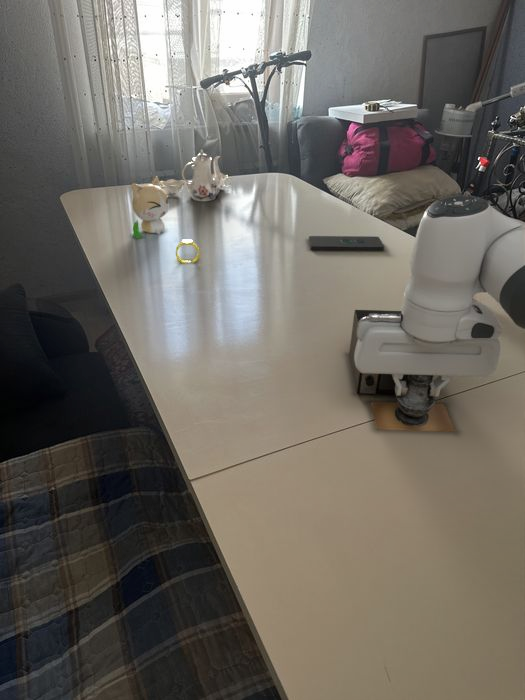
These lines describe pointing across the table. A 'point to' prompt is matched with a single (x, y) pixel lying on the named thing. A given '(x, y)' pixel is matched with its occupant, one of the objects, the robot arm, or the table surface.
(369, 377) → the oven
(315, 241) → the smart home device
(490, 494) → the table surface
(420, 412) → the gray stone statue
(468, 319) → the robot arm
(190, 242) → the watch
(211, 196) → the chinaware
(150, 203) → the kitten
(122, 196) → the table surface
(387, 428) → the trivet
